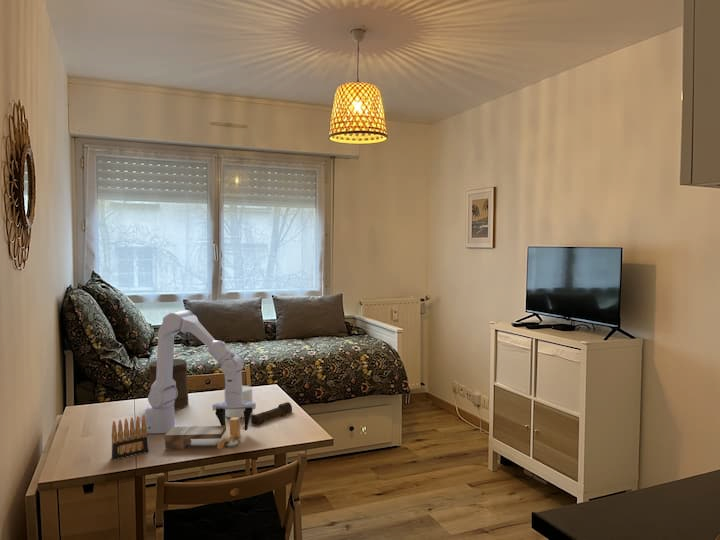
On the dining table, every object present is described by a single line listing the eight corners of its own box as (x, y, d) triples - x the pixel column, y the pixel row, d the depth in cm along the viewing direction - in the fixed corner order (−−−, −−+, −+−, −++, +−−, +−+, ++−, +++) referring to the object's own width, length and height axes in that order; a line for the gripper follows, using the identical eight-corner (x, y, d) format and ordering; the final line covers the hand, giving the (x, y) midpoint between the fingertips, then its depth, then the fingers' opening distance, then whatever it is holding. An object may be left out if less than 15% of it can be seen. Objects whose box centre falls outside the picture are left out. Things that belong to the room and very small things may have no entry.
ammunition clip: (147, 450, 179) (145, 413, 179) (148, 451, 178) (147, 415, 177) (111, 458, 173) (110, 420, 173) (112, 459, 172) (111, 421, 171)
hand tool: (257, 426, 201) (256, 414, 201) (250, 424, 204) (250, 412, 203) (296, 414, 215) (296, 402, 215) (289, 412, 218) (289, 400, 217)
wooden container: (180, 398, 239) (178, 348, 238) (194, 406, 227) (192, 353, 226) (145, 405, 229) (143, 353, 228) (158, 413, 218) (155, 358, 217)
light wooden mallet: (215, 448, 180) (215, 430, 180) (233, 434, 193) (232, 417, 193) (223, 448, 179) (222, 430, 179) (240, 434, 192) (239, 417, 192)
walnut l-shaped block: (165, 450, 179) (164, 435, 178) (173, 441, 187) (172, 427, 186) (220, 449, 179) (220, 433, 179) (226, 440, 187) (226, 425, 187)
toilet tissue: (232, 420, 208) (231, 394, 207) (218, 413, 217) (218, 388, 217) (257, 414, 215) (257, 389, 214) (243, 407, 224) (242, 383, 223)
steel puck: (223, 447, 181) (223, 443, 180) (228, 443, 185) (228, 438, 184) (235, 448, 180) (234, 443, 180) (239, 444, 184) (239, 439, 184)
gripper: (256, 387, 195) (258, 425, 195) (215, 388, 195) (216, 426, 195) (253, 392, 188) (254, 432, 188) (210, 393, 187) (211, 433, 188)
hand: (235, 429), depth 191 cm, fingers open, 7 cm apart
